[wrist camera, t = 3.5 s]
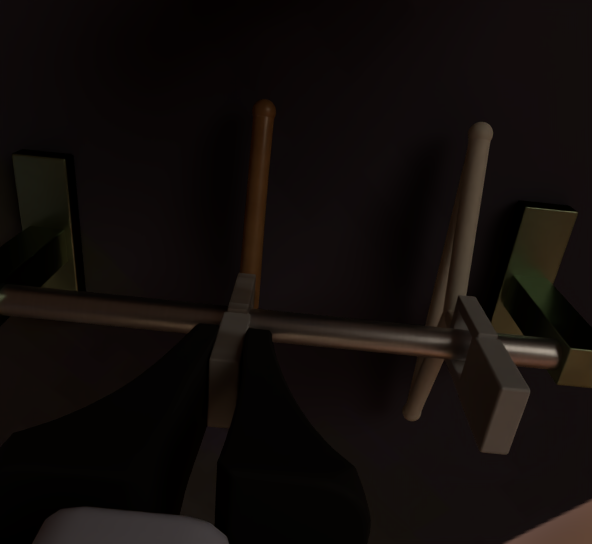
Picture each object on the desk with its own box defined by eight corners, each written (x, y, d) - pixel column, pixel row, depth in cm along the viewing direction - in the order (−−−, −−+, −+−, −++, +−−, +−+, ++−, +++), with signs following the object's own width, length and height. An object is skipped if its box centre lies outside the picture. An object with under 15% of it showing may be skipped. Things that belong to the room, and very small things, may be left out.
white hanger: (417, 413, 23) (462, 582, 16) (399, 411, 23) (436, 579, 16) (491, 121, 18) (608, 186, 11) (468, 118, 18) (569, 182, 11)
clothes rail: (518, 355, 23) (579, 456, 18) (42, 308, 23) (-41, 396, 17) (569, 205, 20) (662, 271, 15) (21, 148, 20) (-87, 195, 14)
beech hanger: (254, 397, 23) (228, 560, 16) (236, 395, 23) (202, 558, 16) (277, 98, 18) (253, 148, 11) (254, 96, 18) (214, 144, 11)
